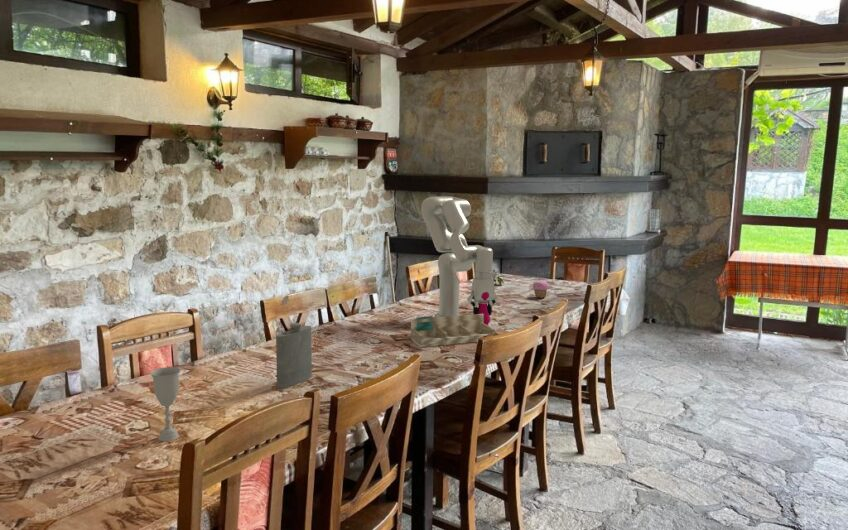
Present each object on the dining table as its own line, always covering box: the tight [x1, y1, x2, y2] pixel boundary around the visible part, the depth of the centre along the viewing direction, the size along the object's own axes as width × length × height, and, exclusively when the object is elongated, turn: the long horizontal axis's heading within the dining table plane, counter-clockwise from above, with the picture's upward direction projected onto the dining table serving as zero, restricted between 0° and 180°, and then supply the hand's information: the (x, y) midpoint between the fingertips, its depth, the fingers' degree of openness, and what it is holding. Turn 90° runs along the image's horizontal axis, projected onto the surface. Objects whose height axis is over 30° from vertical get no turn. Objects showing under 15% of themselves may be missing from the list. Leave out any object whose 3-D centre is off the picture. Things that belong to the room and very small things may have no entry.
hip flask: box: [275, 322, 313, 390], centre depth 210 cm, size 16×4×20 cm, turn 151°
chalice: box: [150, 366, 181, 442], centre depth 166 cm, size 7×7×18 cm
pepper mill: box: [477, 292, 491, 326], centre depth 284 cm, size 7×7×20 cm
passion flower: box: [492, 268, 505, 286], centre depth 395 cm, size 11×11×12 cm
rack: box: [410, 314, 496, 348], centre depth 265 cm, size 33×12×9 cm, turn 111°
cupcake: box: [532, 279, 550, 299], centre depth 357 cm, size 9×9×10 cm
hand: (482, 314), depth 284 cm, fingers closed on pepper mill, 5 cm apart
